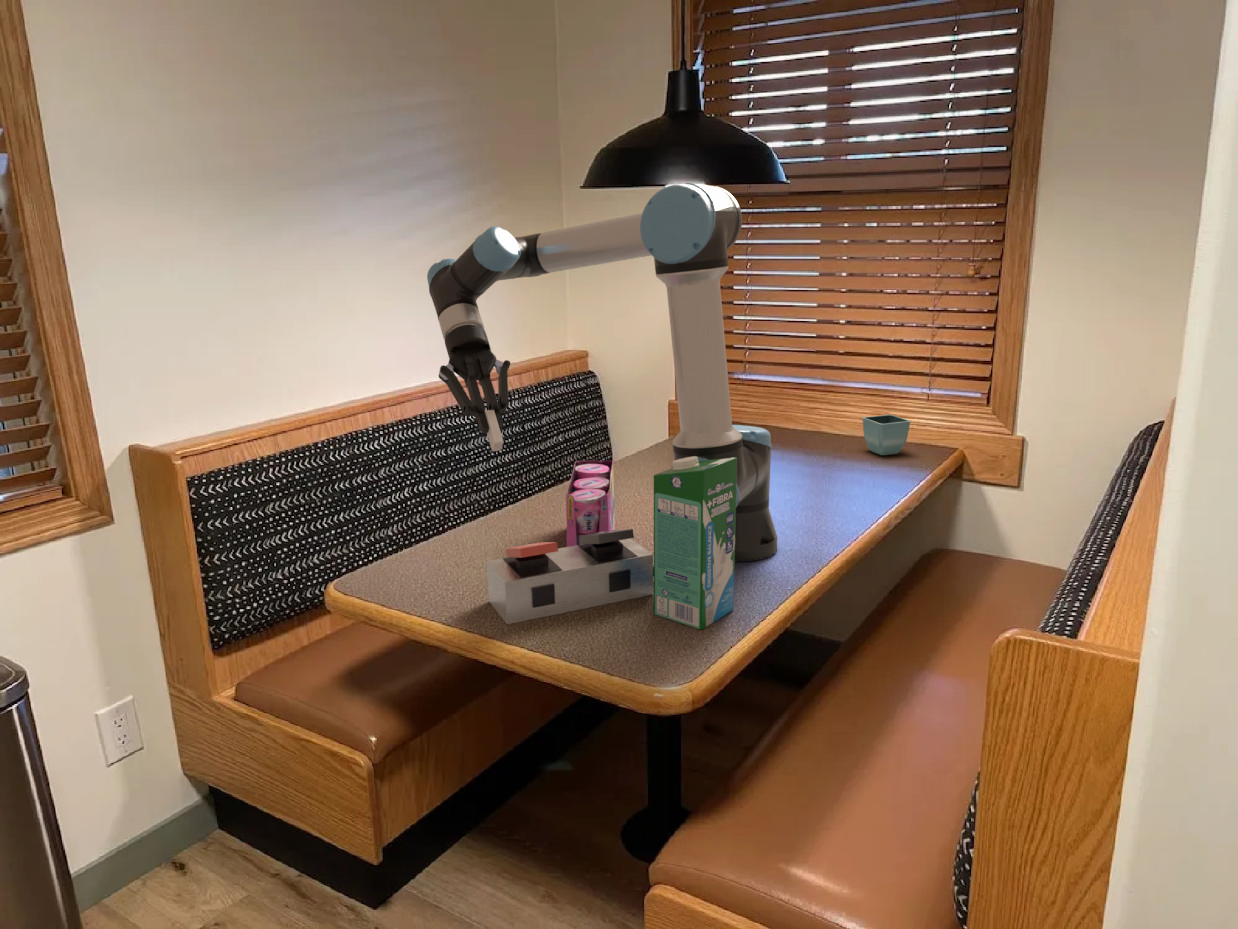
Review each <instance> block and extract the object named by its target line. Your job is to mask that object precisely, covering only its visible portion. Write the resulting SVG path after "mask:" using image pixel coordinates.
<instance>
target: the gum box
mask: <svg viewBox="0 0 1238 929" xmlns="http://www.w3.org/2000/svg"><path fill="white" fill-rule="evenodd" d="M614 470H615V469H614V460H576V461H575V462H574V465H573V469H572V473H571V477H570V479H569V480H570V481H569V484H568V486H567V489H566V493H565V501H566V502H565V507H566V508H565V510H566V512H565V513H566V547H570V546H575V545H581V544H582V542H581V536H582V535H588V534H594V533H599V532H605V531H611V530H616V529H615V528H616V527H615V526H616V522H615V489H614V488H615V480H614V479H615V478H614V476H615V475H614V474H615V473H614Z"/></svg>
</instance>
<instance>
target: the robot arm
mask: <svg viewBox="0 0 1238 929" xmlns="http://www.w3.org/2000/svg"><path fill="white" fill-rule="evenodd" d="M742 226H743V214H742V210H741V207H740V205H739V203H738V201H737V199H736V197H734V196H733V195H732V194H731V193H730V192H729V191H728V190H726V189H724V188H722V187H720V186H717V185H712V184H710V185H709V184H696V183H692V182H686V183H682V182H680V183H678V184H671V185H669V186H666V187H664V188H661V189H660V190H658V191H657V192H656V193H654V195H652V196H651V198H650V199H649V200H648V202H647V203H646V205H645V206H644V207H643V210H642V212H640V213H634V214H628V215H625V216H618V217H615V218H609V219H604V220H600V221H595V222H590V223H585V224H580V225H575V226H570V227H566V228H565V227H564V228H561V229H560V228H559V229H555V230H549V231H545V232H540V233H539V232H538V233H534V234H529V235H528V234H527V235H523V236H515V237H514V235H512V234H511V232H509V231H508V230H506V229H505V228H504V229H503V228H502V227H500V226H497V225H495V226H490V227H488V228H487V229H486V230H485V231H484V232H483V233H481V234H480V235H478V236H477V237H476V238H475V240H474V241H473V243H471V244H470V246H468V248H466V250H465V251H464V252H463V253H462V254H461V255H460V256H459V257H458V258H457V259H456V258H444V259H441V261H439V262H435V263H433V264H432V265H431V266H430V267H429V269H428V271H427V276H426V278H427V285H428V289H429V290H428V291H429V295H430V297H431V300H432V303H433V306H434V309H435V313H436V315H437V320H438V322H439V324H438V325H439V327H440V330H441V333H442V338H443V341H444V344H445V349H446V352H447V356H448V358H449V359H448V363H447V364H446V365H441V366H440V368H439V372H438V378H439V380H441V381H442V382H443V383H445V384H446V385H447V388H449V390H450V392H451V394H452V396H453V398H454V399H455V401H456V403H457V405H458V406H459V408H460V409H461V411H462V413H463V414H464V416H465V417H466V418H469V417H474V421H476V422H477V423H478V426H479V430H480V432H481V433H482V434H486V435H487V438H488V441H489V445H490V448H491V452H497V451H499V452H500V451H501V450H502V448H503V445H504V438H503V435H502V431H503V428H504V421H503V418H502V415H501V414H505V413H506V411H507V409H508V405H509V385H508V384H509V382H508V378H509V376H508V373H509V369H510V366H511V361H510V360H507V359H506V360H503V361H501V360H499V359H497V357H496V355H495V354H494V353H493V352H492V348H491V345H490V342H489V341H490V340H489V338H488V336H487V332H486V330H485V326H484V323H483V320H482V317H481V314H480V310H479V307H478V302H477V300H478V298H480V297H481V296H482V295H483V294H484V293H486V291H488V290H489V289H490V288H491V287H492V286H493V285H494V284H495V283H497V282H498V281H499V282H500V281H507V280H513V279H519V278H520V279H522V278H534V277H540V276H542V275H546V274H551V273H557V272H562V271H568V270H575V269H580V268H585V267H592V266H598V265H603V264H610V263H615V262H620V261H621V262H622V261H627V260H634V259H638V258H644V257H650V256H652V257H653V259H654V260H653V263H654V270H655V276H656V278H657V279H659V280H660V281H661V282H662V283H663V284H664V285H665V287H666V293H667V294H666V295H667V305H668V306H667V307H668V313H669V314H668V315H669V325H670V327H669V328H670V336H671V345H672V355H673V365H674V376H675V386H676V387H675V388H676V397H677V398H676V399H677V408H678V416H679V428H680V430H679V433H678V434H677V435H676V436H675V438H673V440H672V450H673V451H672V452H673V461H674V460H677V459H681V458H687V457H693V456H697V457H698V461H706V460H715V459H725V458H735V457H736V458H737V478H736V523H735V562H753V561H759V560H758V559H760V560H763V559H762V558H764V559H767V558H769V557H771V556H773V555H774V554H775V553H776V552H777V550H778V534H777V531H776V528H775V525H774V520H773V518H772V515H771V511H770V491H771V490H770V489H771V486H770V484H771V460H772V459H771V458H772V449H773V445H772V440H771V439H772V435H771V433H770V431H769V430H767V429H765V428H763V427H758V426H751V425H744V424H743V425H742V424H733V422H732V410H731V409H732V408H731V407H732V406H731V399H730V396H731V395H730V385H729V383H730V382H729V375H728V361H727V351H726V350H727V349H726V338H725V328H724V326H725V325H724V316H723V314H724V313H723V303H722V290H721V279H722V278H723V275H724V274H725V273H726V272H727V271H728V269H729V259H728V257H729V256H728V250H729V249H731V248H732V247H733V246H734V245H735V244H736V242H737V240H739V239H738V238H739V236H740V233H741V231H742ZM494 368H495V371H496V374H497V375H498V378H497V384H498V387H497V388H498V389H497V390H498V399H497V395H496V392H495V388H494V385H493V382H492V379H491V373H492V371H493V369H494ZM456 375H458V376H459V377H460V378H461V379H463V381H464V384H465V387H466V388H467V391H468V392H466V390H465V389H464V387H463V385H462V384H461V382H460V380H459V379H458V377H457V376H456ZM479 387H481V390H482V392H483V393H482V394H483V396H484V399H485V403H486V406H487V409H488V410H486V408H485V404H484V401H483V398H482V394H481V391H480V388H479ZM467 393H468V394H467ZM468 395H469V396H468ZM671 468H673V466H672V467H671ZM774 552H775V553H774ZM773 553H774V554H773ZM772 554H773V555H772ZM770 555H771V556H770ZM766 557H767V558H766Z"/></svg>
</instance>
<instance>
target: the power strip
mask: <svg viewBox="0 0 1238 929" xmlns="http://www.w3.org/2000/svg"><path fill="white" fill-rule="evenodd" d="M486 570H487V571H486V574H487V588H488V589H487V590H488V593H487V594H488V603H489V604H490V605H491V606H492V607H493V608H494V610H495V612H497V614H498V615H499V616H500V618H501V619H502V620H503V621H504V623H505V624H506V625H512V624H515V623H522V622H527V621H530V620H536V619H541V618H546V617H550V616H554V615H560V614H565V613H569V612H574V611H579V610H580V611H581V610H585V609H588V608H594V607H599V606H604V605H608V604H614V603H620V602H623V601H627V600H632V599H637V598H643V597H647V596H651V595H653V596H654V553H651V552H650V551H649V550H648V549H646V548H645V547H643V546H641V544H639V542H636V541H635V540H633V538H630V539H624V540H619V541H613V542H607V543H602V544H581V545H575V546H570V547H567V546H565V547H560V548H559V547H558V551H557V552H551V553H546V554H540V555H534V556H529V557H523V558H516V557H507V556H506V557H503V558H496V559H490V560H486Z"/></svg>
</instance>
